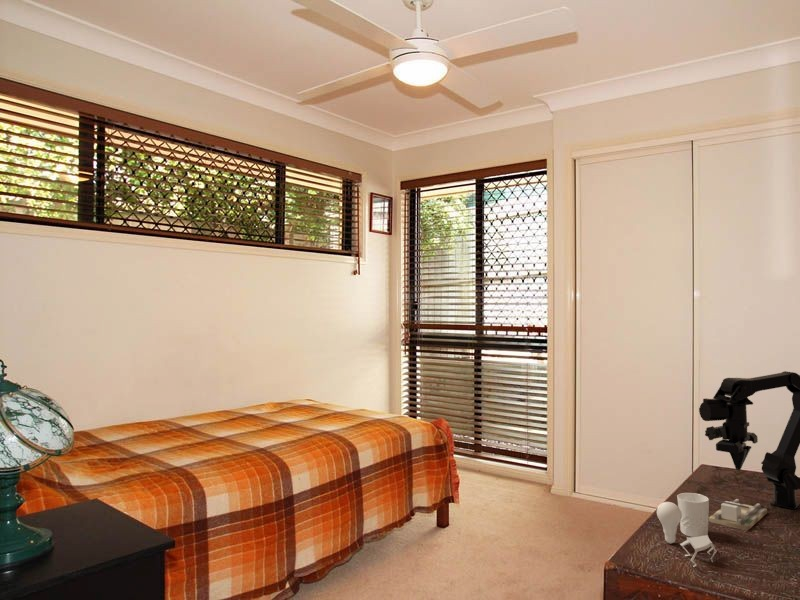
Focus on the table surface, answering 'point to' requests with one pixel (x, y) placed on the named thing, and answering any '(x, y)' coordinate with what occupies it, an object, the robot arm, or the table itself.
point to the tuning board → (745, 521)
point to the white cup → (693, 514)
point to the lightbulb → (669, 519)
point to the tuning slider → (730, 510)
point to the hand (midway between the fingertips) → (738, 469)
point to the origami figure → (699, 545)
